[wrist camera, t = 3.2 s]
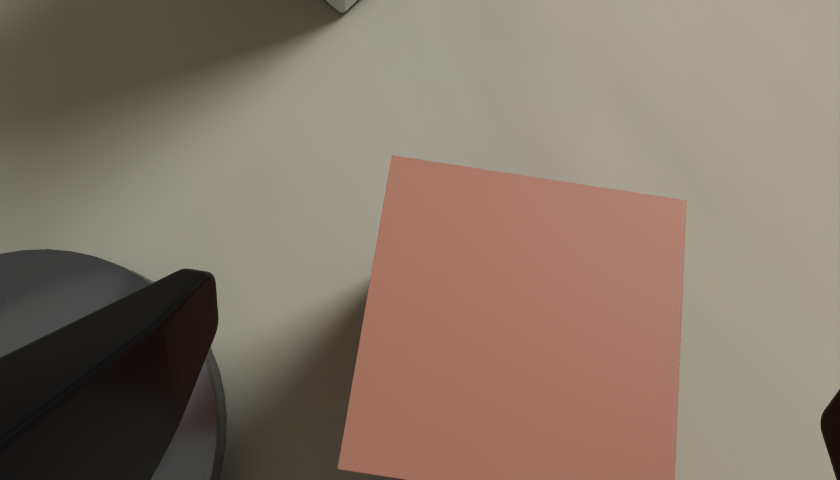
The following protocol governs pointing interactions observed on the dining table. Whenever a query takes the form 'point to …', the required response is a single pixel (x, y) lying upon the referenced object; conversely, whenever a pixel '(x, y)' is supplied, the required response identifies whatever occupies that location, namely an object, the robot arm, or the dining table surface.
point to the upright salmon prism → (518, 331)
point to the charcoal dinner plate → (83, 294)
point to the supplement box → (341, 4)
